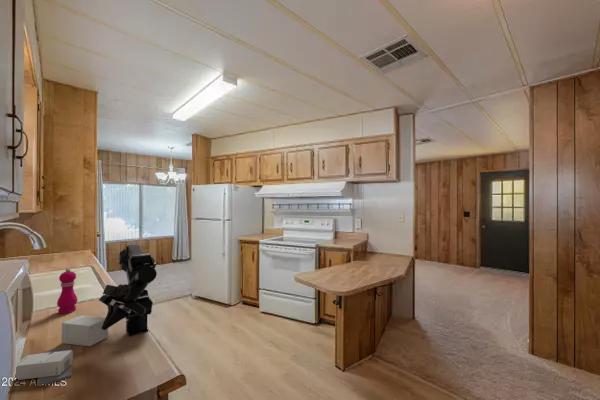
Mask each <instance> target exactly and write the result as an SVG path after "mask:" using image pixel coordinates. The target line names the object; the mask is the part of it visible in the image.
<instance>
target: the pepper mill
mask: <svg viewBox="0 0 600 400" xmlns="http://www.w3.org/2000/svg"><path fill="white" fill-rule="evenodd" d="M76 278H77V274H76V272H75V271H72V270H71V268H69V267H68V268H66V269H65V271H64V272H62V273H61V274H60V275H59V277H58V279H59V281H60V287H61V293H60V295H59V297H58V299H57V302H56V306H57V307H58V310H57V311H58V312H57V313H58V314H60V315H65V314H70V313H73V312H75V311H76V310H77V306H76V304H77V303H78V297H77V295H76V293H75V290H74V286H75V283H76V282H75V280H76Z"/></svg>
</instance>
